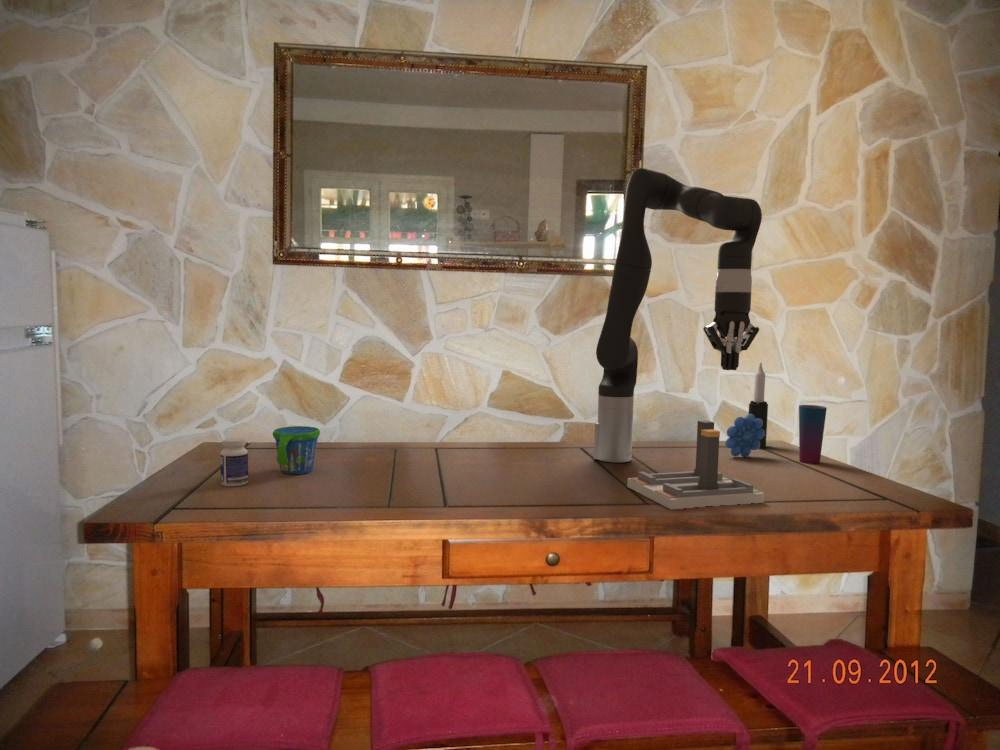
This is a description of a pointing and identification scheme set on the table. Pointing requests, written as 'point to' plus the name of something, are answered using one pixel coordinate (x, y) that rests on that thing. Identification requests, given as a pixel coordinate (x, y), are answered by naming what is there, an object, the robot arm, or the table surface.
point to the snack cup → (296, 448)
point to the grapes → (745, 435)
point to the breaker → (709, 459)
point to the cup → (811, 432)
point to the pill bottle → (234, 462)
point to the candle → (760, 402)
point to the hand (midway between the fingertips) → (729, 369)
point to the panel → (693, 486)
